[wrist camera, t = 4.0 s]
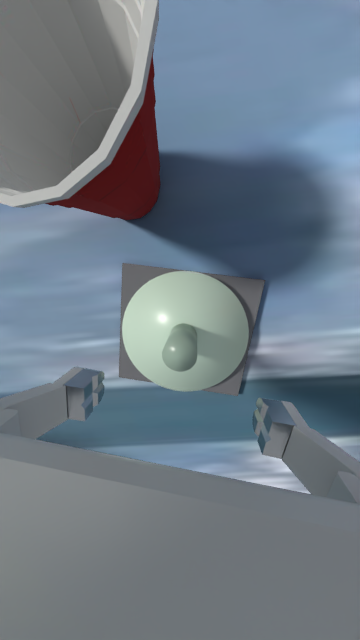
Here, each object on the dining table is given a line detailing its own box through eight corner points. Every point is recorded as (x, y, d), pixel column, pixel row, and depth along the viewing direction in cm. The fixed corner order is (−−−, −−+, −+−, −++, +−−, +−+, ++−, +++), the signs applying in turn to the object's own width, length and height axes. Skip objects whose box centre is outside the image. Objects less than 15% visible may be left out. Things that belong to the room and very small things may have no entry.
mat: (236, 392, 21) (237, 395, 21) (120, 374, 22) (118, 377, 22) (262, 280, 18) (264, 280, 17) (124, 263, 19) (122, 263, 18)
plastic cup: (94, 85, 15) (-229, -506, 4) (207, 150, 16) (238, -194, 4) (58, 214, 18) (-188, 113, 7) (154, 266, 19) (83, 258, 7)
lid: (233, 395, 21) (244, 435, 16) (122, 377, 22) (99, 410, 16) (259, 279, 17) (286, 283, 12) (127, 263, 18) (100, 259, 13)
